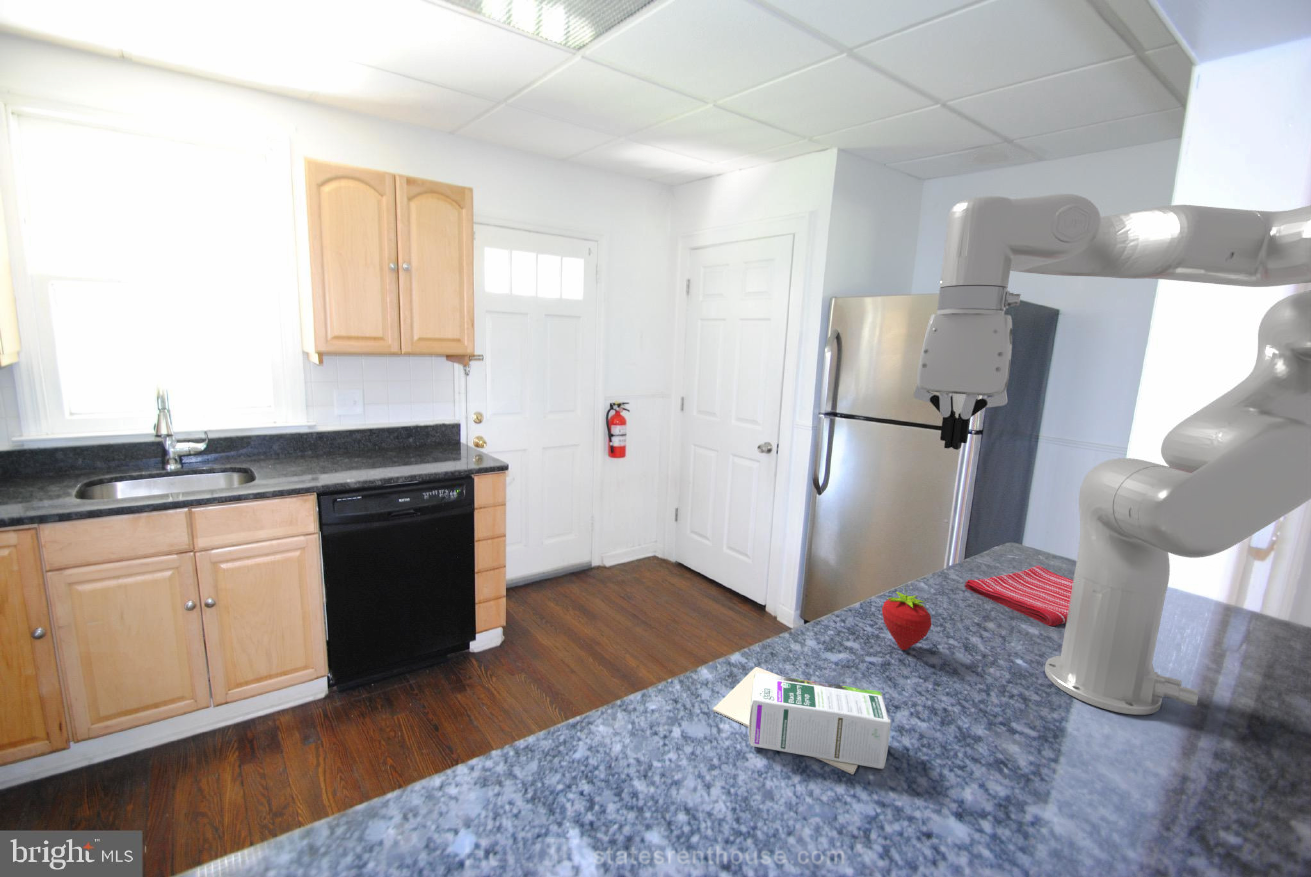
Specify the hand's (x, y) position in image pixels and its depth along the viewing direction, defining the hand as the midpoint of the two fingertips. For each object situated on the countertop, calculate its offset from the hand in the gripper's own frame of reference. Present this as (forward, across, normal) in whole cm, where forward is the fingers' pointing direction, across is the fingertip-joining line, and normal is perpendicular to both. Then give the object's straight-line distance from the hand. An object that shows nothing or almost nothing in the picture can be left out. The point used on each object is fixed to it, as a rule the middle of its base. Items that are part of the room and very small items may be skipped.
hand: (952, 447), depth 75 cm
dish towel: (+33, -13, -43) cm, 56 cm away
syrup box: (+29, 0, +21) cm, 36 cm away
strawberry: (+32, +4, -5) cm, 33 cm away
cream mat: (+32, +10, +20) cm, 39 cm away
